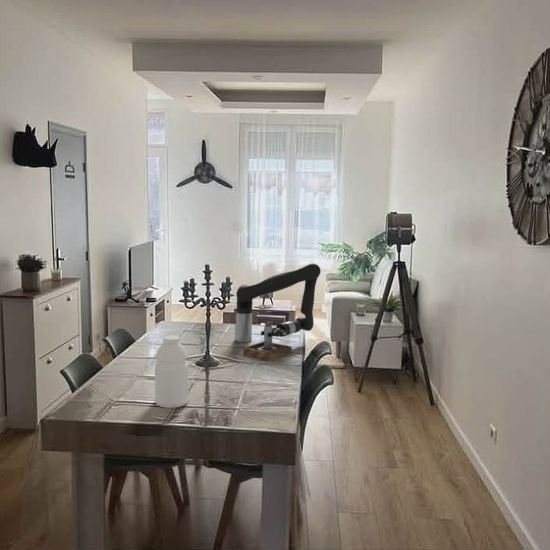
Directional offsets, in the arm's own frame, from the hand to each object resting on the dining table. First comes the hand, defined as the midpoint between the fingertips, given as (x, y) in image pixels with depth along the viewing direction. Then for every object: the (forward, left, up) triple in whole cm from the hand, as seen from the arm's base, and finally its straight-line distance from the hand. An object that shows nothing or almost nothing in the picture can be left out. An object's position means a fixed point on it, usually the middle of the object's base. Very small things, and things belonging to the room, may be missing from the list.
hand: (264, 334), depth 295 cm
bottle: (+14, -78, -12) cm, 80 cm away
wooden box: (0, +3, -11) cm, 12 cm away
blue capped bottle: (0, +3, -8) cm, 8 cm away
